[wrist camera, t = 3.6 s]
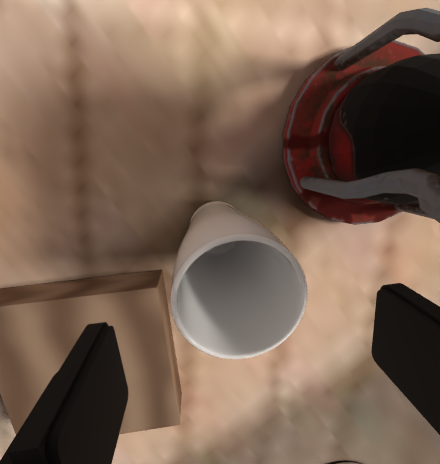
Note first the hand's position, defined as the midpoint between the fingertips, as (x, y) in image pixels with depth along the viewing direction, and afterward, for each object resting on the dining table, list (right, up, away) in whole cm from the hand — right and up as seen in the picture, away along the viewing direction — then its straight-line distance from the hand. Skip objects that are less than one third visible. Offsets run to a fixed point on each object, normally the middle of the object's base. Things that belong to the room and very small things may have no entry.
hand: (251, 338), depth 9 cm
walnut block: (-14, -9, +20) cm, 26 cm away
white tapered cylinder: (-2, +4, +18) cm, 18 cm away
